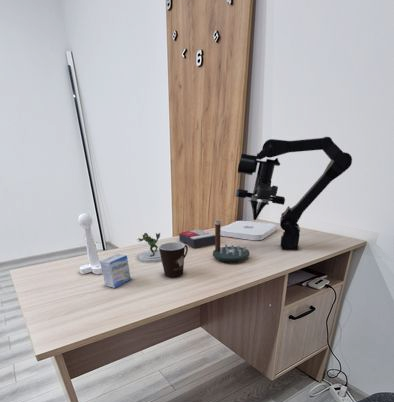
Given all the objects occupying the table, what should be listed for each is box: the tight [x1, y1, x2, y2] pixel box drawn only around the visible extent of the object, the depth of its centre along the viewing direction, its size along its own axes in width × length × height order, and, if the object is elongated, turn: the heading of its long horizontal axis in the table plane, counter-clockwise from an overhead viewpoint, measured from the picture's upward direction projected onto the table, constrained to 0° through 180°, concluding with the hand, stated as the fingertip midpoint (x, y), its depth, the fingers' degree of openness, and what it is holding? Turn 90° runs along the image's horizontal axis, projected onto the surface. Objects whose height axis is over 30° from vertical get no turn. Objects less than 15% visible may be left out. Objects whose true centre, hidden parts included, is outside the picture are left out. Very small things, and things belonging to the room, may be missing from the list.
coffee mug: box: [158, 241, 189, 279], centre depth 102 cm, size 12×9×10 cm
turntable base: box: [217, 259, 245, 264], centre depth 116 cm, size 10×10×1 cm
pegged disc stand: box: [212, 220, 251, 261], centre depth 112 cm, size 14×14×12 cm
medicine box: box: [99, 253, 132, 289], centre depth 97 cm, size 8×4×9 cm, turn 148°
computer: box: [220, 220, 277, 241], centre depth 145 cm, size 22×22×3 cm
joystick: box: [77, 213, 103, 275], centre depth 104 cm, size 11×8×20 cm
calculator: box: [178, 229, 215, 249], centre depth 135 cm, size 11×4×15 cm
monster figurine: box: [136, 232, 162, 263], centre depth 118 cm, size 12×12×10 cm
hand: (254, 220), depth 119 cm, fingers closed
